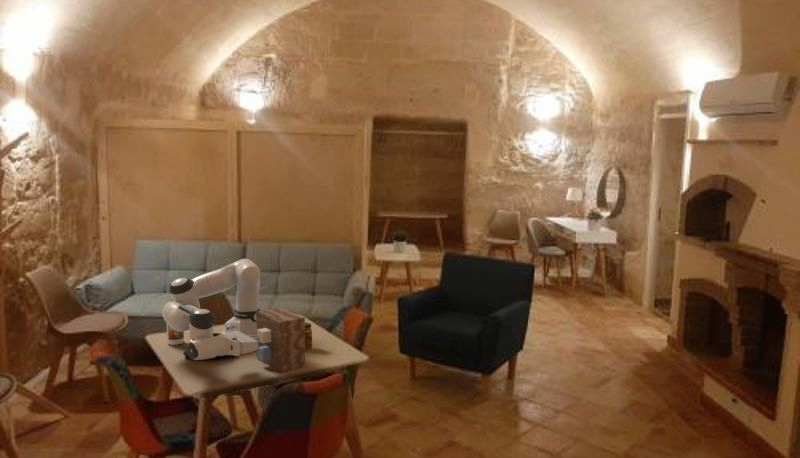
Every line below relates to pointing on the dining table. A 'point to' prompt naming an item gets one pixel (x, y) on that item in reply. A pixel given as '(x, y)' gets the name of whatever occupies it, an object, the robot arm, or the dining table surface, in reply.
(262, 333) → the white cube
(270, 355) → the blue cube
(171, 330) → the milk bottle
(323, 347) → the dining table surface
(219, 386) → the dining table surface
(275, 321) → the block
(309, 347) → the condiment
